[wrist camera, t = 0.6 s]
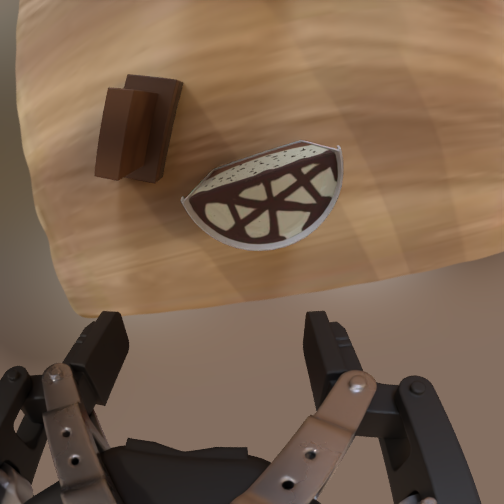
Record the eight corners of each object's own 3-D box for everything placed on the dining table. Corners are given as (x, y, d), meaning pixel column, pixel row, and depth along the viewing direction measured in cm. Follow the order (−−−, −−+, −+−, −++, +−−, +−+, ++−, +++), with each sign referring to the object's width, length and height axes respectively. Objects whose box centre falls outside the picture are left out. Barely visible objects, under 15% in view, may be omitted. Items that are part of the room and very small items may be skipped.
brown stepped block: (137, 76, 24) (97, 67, 16) (183, 82, 24) (156, 72, 17) (119, 168, 28) (78, 191, 20) (162, 177, 29) (132, 203, 21)
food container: (220, 227, 31) (208, 277, 22) (198, 174, 29) (175, 205, 20) (332, 192, 30) (365, 229, 21) (316, 135, 27) (347, 148, 18)
